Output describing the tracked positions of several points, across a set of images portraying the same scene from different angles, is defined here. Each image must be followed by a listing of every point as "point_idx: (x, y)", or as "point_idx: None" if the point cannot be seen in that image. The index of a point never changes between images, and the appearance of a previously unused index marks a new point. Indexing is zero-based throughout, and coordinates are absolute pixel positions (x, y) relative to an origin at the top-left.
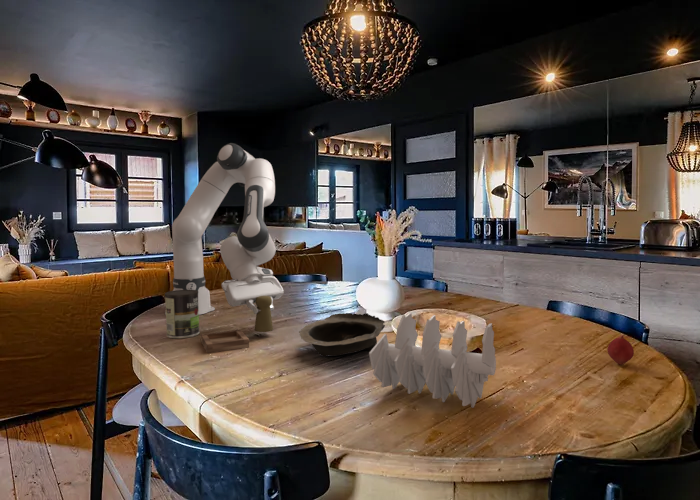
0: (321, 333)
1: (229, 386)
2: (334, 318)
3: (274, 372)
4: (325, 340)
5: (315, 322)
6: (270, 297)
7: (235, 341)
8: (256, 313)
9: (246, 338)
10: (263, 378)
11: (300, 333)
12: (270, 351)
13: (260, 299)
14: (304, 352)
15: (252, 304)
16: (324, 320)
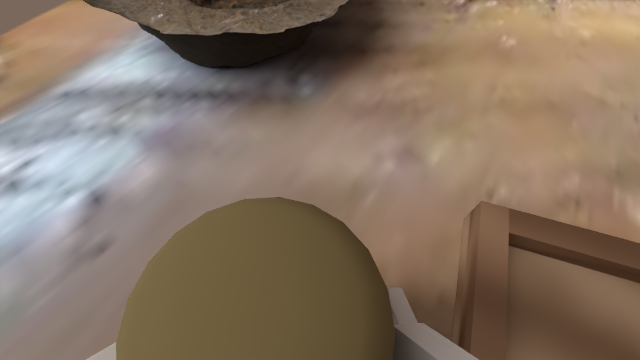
0: (222, 42)
1: (602, 13)
2: (117, 3)
3: (477, 15)
4: (219, 61)
5: (199, 31)
6: (176, 234)
7: (555, 221)
8: None
9: (490, 218)
10: (514, 6)
11: (338, 5)
12: (410, 126)
13: (363, 251)
14: (328, 61)
15: (455, 349)
16: (155, 21)
